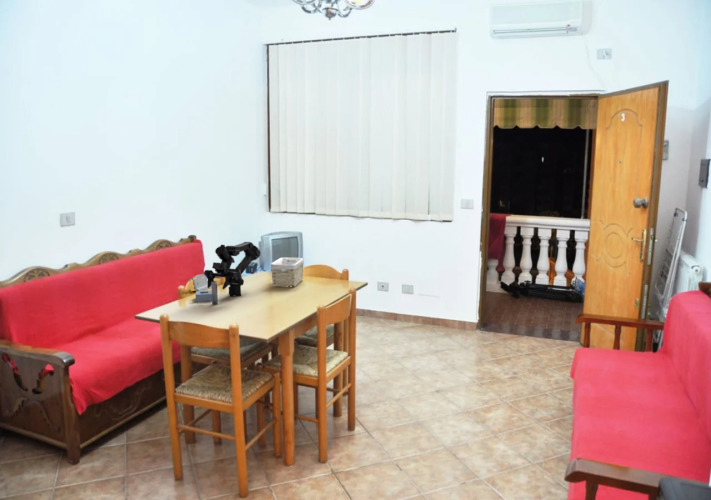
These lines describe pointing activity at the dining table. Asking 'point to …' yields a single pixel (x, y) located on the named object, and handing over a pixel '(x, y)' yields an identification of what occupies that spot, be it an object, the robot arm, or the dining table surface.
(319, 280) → the dining table surface
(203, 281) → the hinge
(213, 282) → the peg
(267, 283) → the dining table surface
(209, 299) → the hole block
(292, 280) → the storage basket
